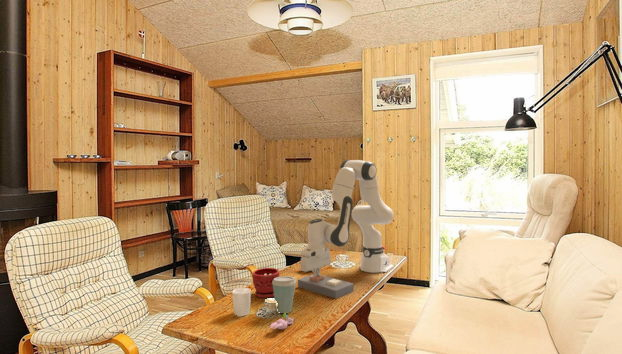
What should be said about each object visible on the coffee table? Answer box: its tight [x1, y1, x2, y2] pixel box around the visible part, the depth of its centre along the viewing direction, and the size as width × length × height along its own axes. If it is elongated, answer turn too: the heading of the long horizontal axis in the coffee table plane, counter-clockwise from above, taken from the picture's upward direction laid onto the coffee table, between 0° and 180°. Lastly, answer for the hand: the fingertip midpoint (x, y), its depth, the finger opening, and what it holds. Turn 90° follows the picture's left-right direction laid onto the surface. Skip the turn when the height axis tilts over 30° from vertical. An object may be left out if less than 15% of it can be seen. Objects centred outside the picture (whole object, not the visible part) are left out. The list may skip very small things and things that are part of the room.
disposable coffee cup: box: [272, 275, 297, 314], centre depth 165 cm, size 11×11×15 cm
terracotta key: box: [309, 275, 324, 281], centre depth 198 cm, size 5×5×3 cm
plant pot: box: [252, 267, 280, 299], centre depth 186 cm, size 13×13×12 cm
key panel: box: [297, 274, 355, 300], centre depth 194 cm, size 14×26×4 cm, turn 47°
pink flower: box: [269, 313, 296, 330], centre depth 148 cm, size 6×6×15 cm
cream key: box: [327, 278, 341, 286], centre depth 190 cm, size 5×5×3 cm
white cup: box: [231, 287, 252, 317], centre depth 163 cm, size 8×8×10 cm
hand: (316, 276), depth 198 cm, fingers closed, pressing on terracotta key
